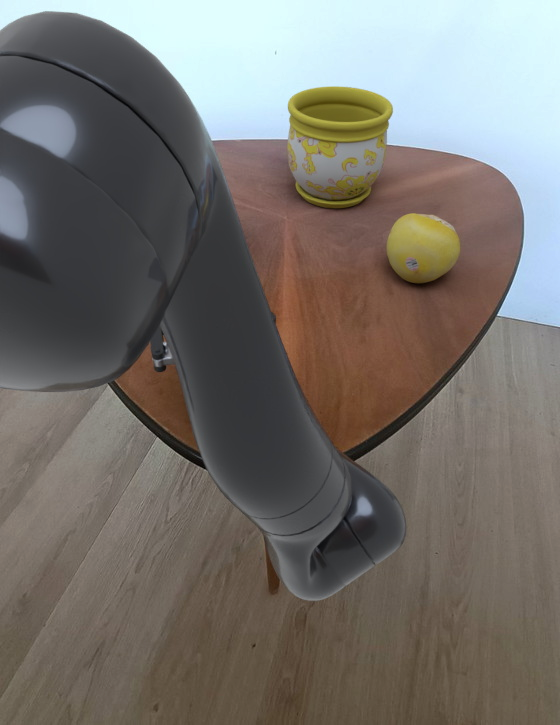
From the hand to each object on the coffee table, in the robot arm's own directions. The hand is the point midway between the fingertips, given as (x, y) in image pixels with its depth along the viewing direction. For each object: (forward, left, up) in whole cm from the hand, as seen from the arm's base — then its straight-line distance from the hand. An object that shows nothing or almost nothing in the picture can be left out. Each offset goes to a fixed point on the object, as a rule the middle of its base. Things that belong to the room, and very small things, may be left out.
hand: (185, 291), depth 63 cm
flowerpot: (+3, +52, -12) cm, 54 cm away
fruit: (+23, +31, -12) cm, 41 cm away
